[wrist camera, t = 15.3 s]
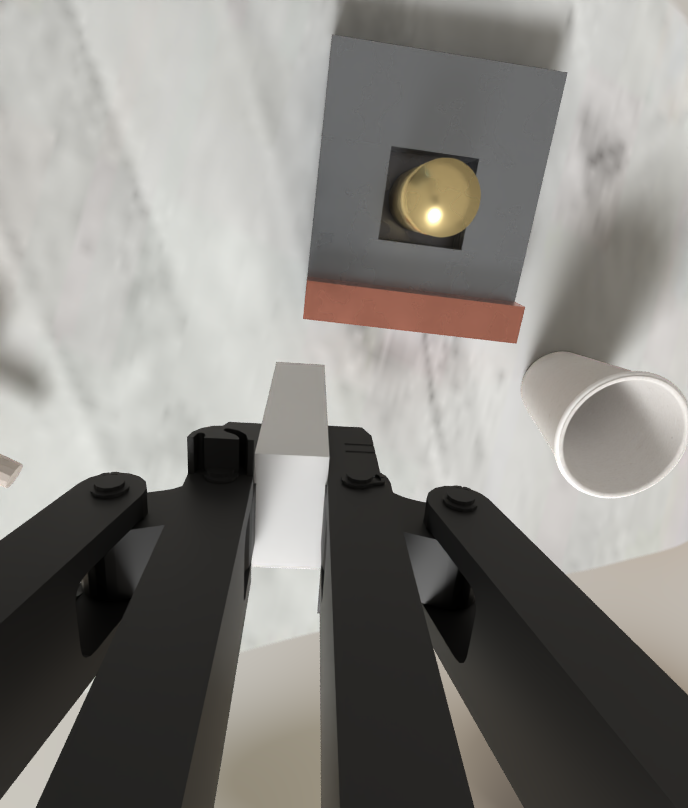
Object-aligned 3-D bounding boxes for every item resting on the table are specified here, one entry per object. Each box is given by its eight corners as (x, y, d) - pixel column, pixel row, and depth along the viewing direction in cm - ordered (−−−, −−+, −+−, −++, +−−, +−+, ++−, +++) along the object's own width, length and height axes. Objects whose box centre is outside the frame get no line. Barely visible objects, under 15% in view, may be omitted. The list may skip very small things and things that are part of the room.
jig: (330, 48, 34) (333, 23, 29) (547, 82, 35) (582, 64, 31) (304, 304, 39) (303, 318, 35) (493, 327, 41) (516, 343, 36)
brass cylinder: (384, 226, 37) (400, 231, 30) (394, 163, 36) (414, 151, 29) (441, 235, 38) (471, 242, 30) (453, 173, 36) (488, 164, 29)
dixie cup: (534, 454, 44) (593, 522, 35) (483, 375, 42) (531, 425, 33) (628, 397, 43) (714, 452, 34) (581, 311, 41) (660, 344, 31)
